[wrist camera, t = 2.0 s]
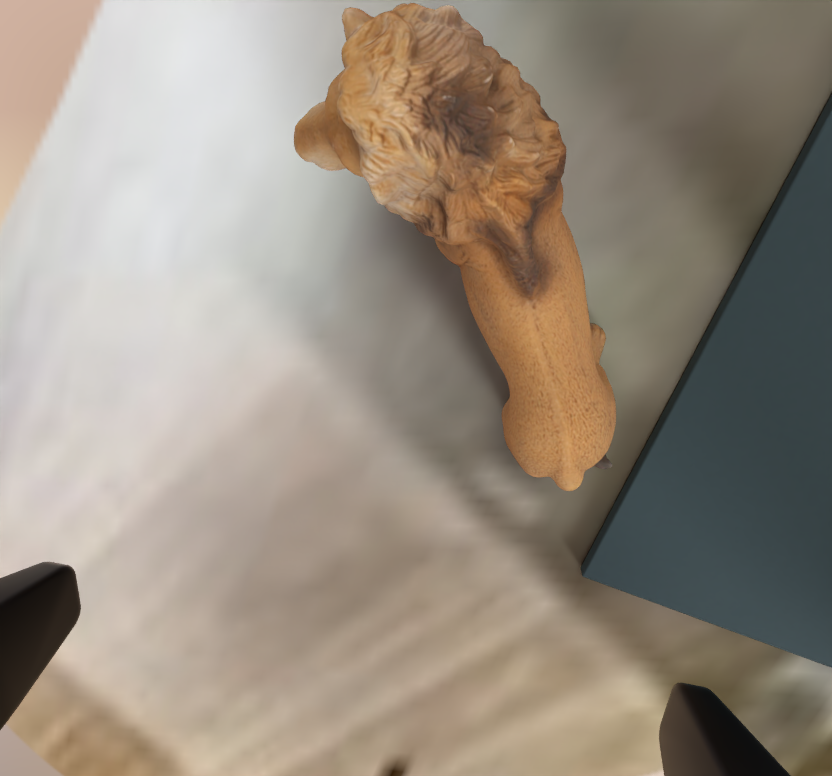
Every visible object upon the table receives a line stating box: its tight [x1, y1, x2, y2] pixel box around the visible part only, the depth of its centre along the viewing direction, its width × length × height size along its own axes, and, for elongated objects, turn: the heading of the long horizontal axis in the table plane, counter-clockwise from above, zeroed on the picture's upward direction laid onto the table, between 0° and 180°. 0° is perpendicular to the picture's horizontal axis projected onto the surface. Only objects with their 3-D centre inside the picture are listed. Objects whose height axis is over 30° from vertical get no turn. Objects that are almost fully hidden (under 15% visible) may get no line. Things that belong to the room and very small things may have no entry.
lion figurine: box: [294, 3, 616, 491], centre depth 14 cm, size 15×5×9 cm, turn 31°
